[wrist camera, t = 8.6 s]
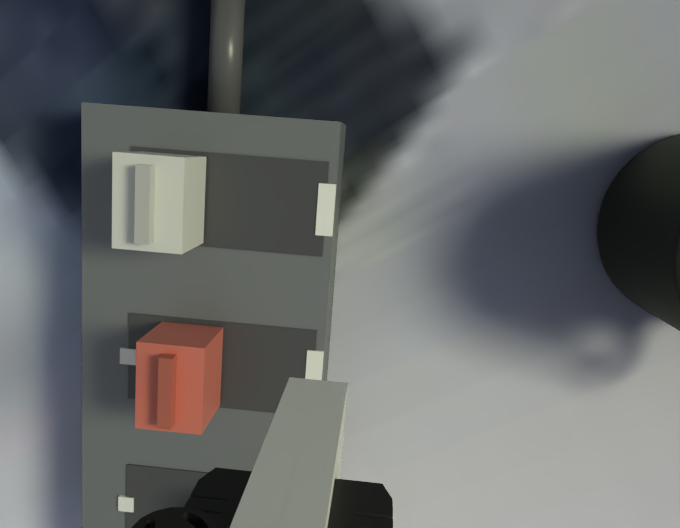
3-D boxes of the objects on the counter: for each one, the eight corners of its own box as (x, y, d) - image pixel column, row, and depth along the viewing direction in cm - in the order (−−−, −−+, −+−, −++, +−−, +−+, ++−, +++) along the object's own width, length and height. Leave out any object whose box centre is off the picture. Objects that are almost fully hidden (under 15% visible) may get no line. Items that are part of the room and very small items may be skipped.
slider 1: (142, 151, 29) (105, 151, 25) (206, 156, 28) (180, 157, 25) (140, 237, 29) (105, 250, 26) (203, 243, 29) (177, 256, 25)
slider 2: (162, 321, 30) (130, 346, 26) (223, 327, 30) (200, 352, 26) (160, 399, 31) (129, 434, 27) (220, 405, 31) (197, 441, 27)
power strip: (115, -15, 31) (76, -39, 27) (355, 1, 31) (351, -21, 27) (111, 522, 37) (77, 568, 33) (314, 544, 36) (305, 594, 32)
